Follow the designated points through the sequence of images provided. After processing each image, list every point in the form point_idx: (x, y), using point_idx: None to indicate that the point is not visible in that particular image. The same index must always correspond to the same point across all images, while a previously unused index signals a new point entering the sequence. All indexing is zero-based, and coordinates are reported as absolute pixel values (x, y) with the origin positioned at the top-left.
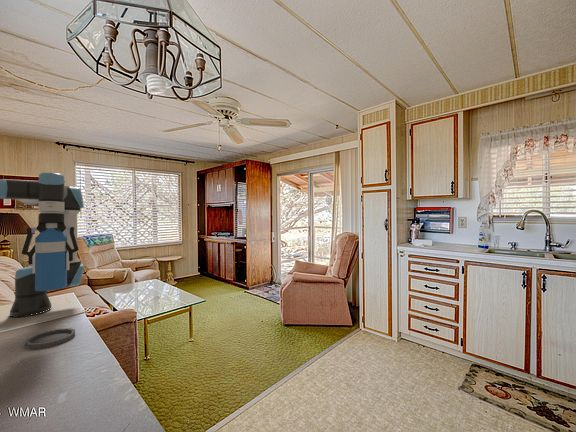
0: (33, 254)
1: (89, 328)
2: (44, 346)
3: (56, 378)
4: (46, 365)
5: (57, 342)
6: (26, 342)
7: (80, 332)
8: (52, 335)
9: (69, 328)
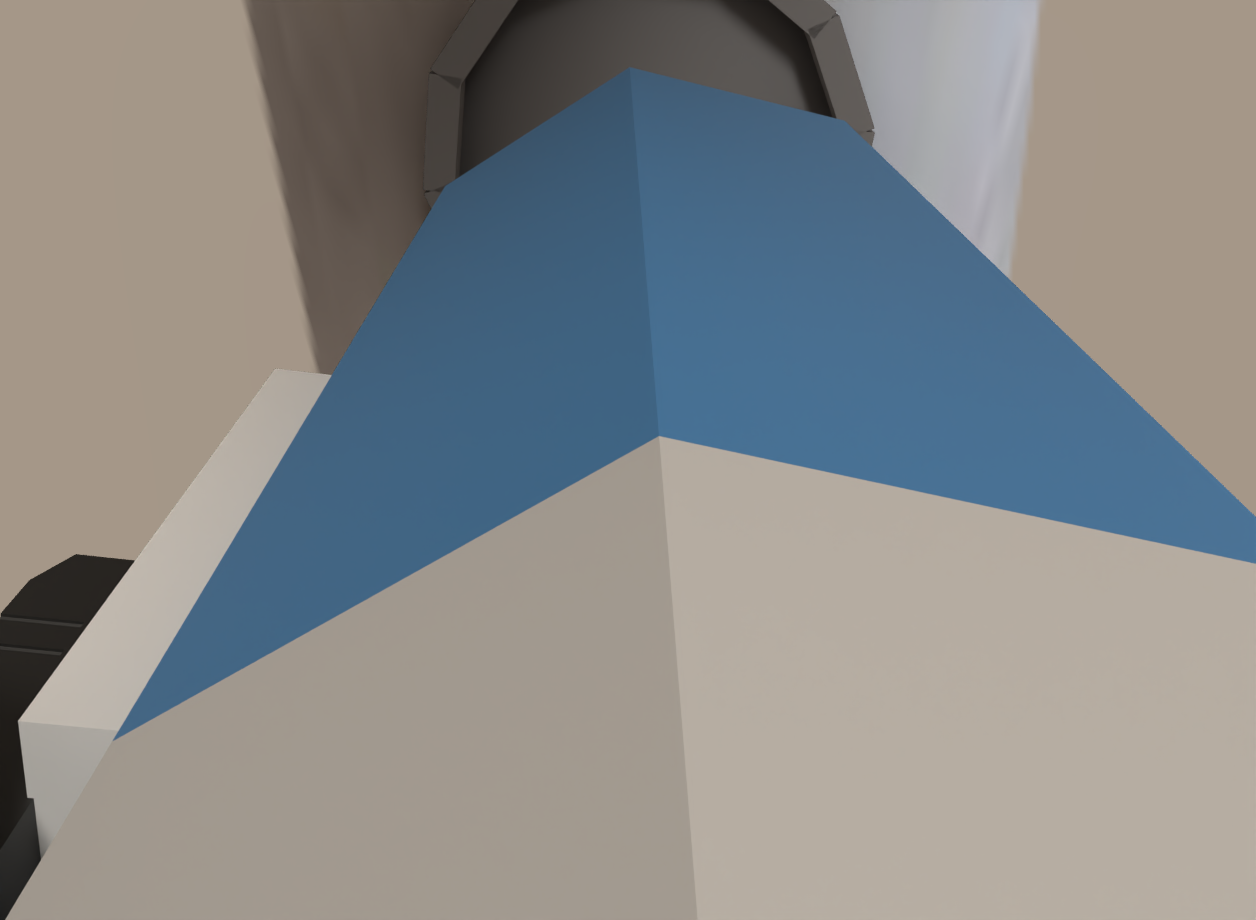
0: (10, 875)
1: (1025, 42)
2: None
3: None
4: None
5: None
6: (435, 192)
7: (915, 120)
8: (660, 20)
9: (833, 19)
